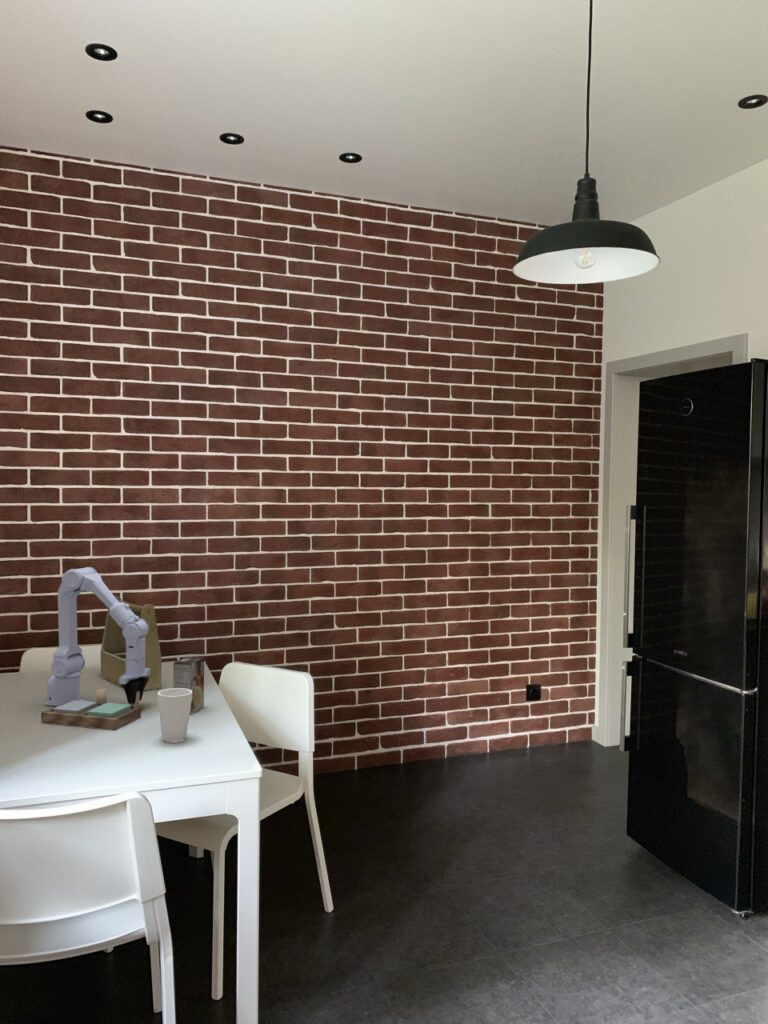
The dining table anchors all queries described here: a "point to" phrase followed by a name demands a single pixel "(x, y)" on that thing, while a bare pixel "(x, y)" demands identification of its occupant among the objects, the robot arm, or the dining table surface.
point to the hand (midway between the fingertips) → (134, 701)
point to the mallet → (113, 708)
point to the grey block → (83, 704)
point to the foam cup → (174, 713)
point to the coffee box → (191, 679)
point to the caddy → (116, 648)
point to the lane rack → (90, 718)
